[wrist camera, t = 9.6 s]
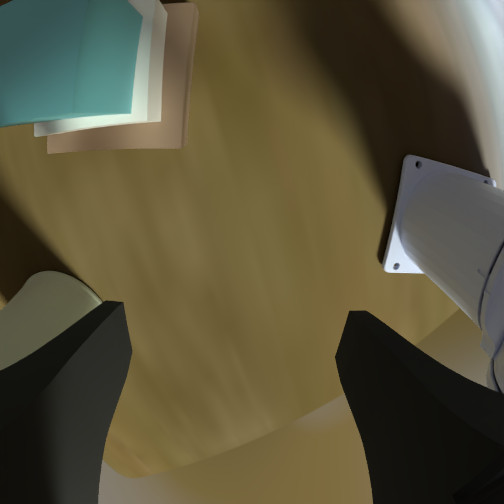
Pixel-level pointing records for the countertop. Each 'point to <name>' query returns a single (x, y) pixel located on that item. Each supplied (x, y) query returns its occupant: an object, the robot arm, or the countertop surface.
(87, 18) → the teal block
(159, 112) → the white block
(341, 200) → the countertop surface
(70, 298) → the can
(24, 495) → the robot arm
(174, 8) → the walnut slab
